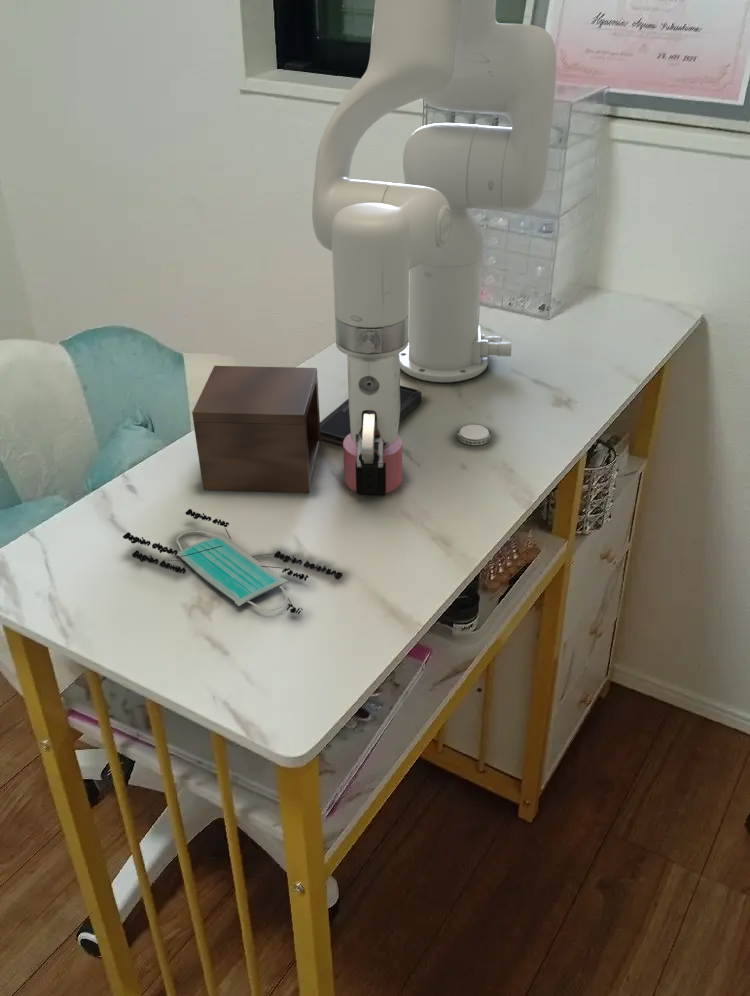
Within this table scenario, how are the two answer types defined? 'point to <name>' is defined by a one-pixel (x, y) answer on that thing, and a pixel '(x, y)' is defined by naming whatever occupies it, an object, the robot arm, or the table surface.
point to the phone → (339, 419)
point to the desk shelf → (258, 429)
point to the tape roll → (390, 454)
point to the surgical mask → (228, 566)
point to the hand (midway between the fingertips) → (374, 471)
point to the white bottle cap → (474, 434)
